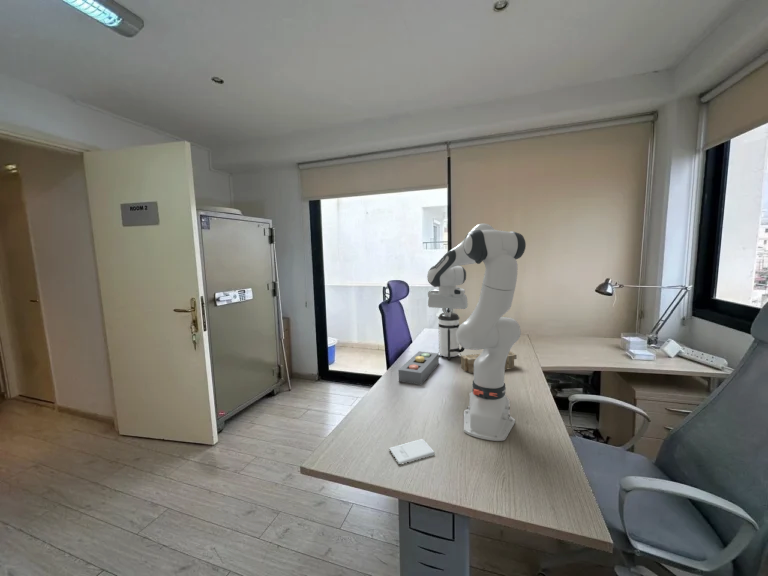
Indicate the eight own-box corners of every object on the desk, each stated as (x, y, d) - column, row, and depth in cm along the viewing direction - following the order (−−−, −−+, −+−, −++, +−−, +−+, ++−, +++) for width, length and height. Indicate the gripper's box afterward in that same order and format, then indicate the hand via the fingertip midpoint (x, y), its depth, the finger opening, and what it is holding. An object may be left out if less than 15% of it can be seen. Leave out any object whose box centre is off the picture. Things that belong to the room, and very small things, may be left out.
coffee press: (435, 360, 187) (434, 311, 184) (438, 352, 202) (438, 306, 199) (464, 362, 182) (464, 311, 179) (466, 353, 197) (465, 307, 194)
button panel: (421, 384, 153) (421, 372, 152) (398, 381, 158) (398, 369, 157) (438, 363, 181) (438, 353, 181) (419, 361, 186) (419, 351, 186)
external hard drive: (434, 456, 99) (399, 467, 94) (422, 442, 107) (388, 451, 102) (434, 451, 99) (399, 462, 94) (422, 437, 106) (388, 447, 102)
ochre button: (422, 362, 166) (422, 359, 165) (414, 361, 168) (414, 358, 168) (425, 360, 170) (425, 356, 170) (417, 359, 172) (417, 355, 172)
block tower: (466, 375, 165) (517, 368, 170) (466, 359, 165) (517, 353, 169) (460, 369, 173) (509, 363, 177) (460, 355, 172) (509, 349, 176)
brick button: (416, 372, 157) (416, 368, 157) (407, 370, 159) (407, 367, 159) (419, 368, 161) (419, 365, 161) (410, 367, 163) (410, 364, 163)
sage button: (428, 359, 175) (428, 356, 175) (420, 358, 177) (420, 355, 177) (430, 357, 179) (430, 353, 179) (422, 356, 181) (422, 352, 181)
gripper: (426, 290, 162) (426, 316, 163) (465, 291, 153) (465, 318, 154) (429, 289, 167) (430, 314, 169) (468, 289, 159) (468, 316, 160)
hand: (447, 316), depth 162 cm, fingers closed
